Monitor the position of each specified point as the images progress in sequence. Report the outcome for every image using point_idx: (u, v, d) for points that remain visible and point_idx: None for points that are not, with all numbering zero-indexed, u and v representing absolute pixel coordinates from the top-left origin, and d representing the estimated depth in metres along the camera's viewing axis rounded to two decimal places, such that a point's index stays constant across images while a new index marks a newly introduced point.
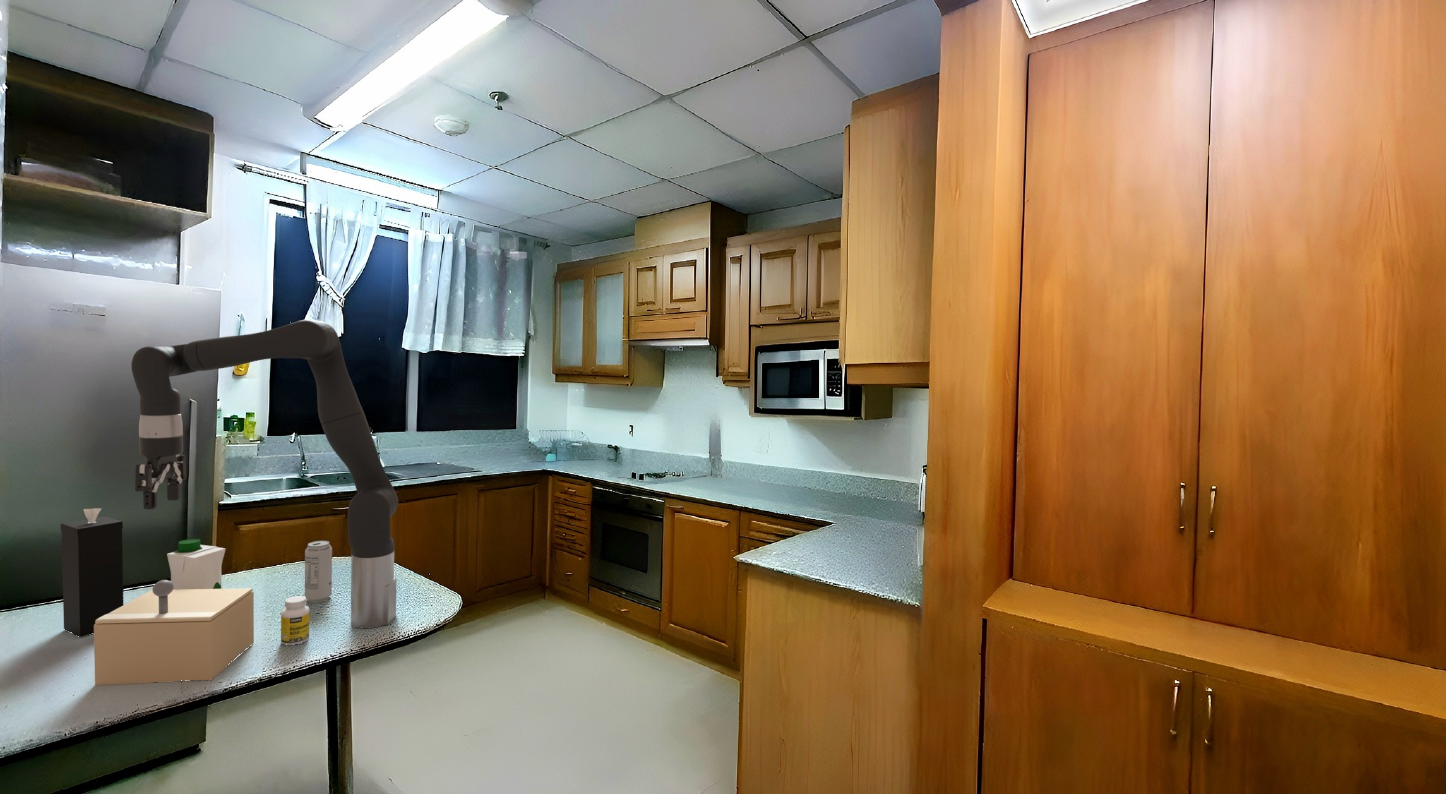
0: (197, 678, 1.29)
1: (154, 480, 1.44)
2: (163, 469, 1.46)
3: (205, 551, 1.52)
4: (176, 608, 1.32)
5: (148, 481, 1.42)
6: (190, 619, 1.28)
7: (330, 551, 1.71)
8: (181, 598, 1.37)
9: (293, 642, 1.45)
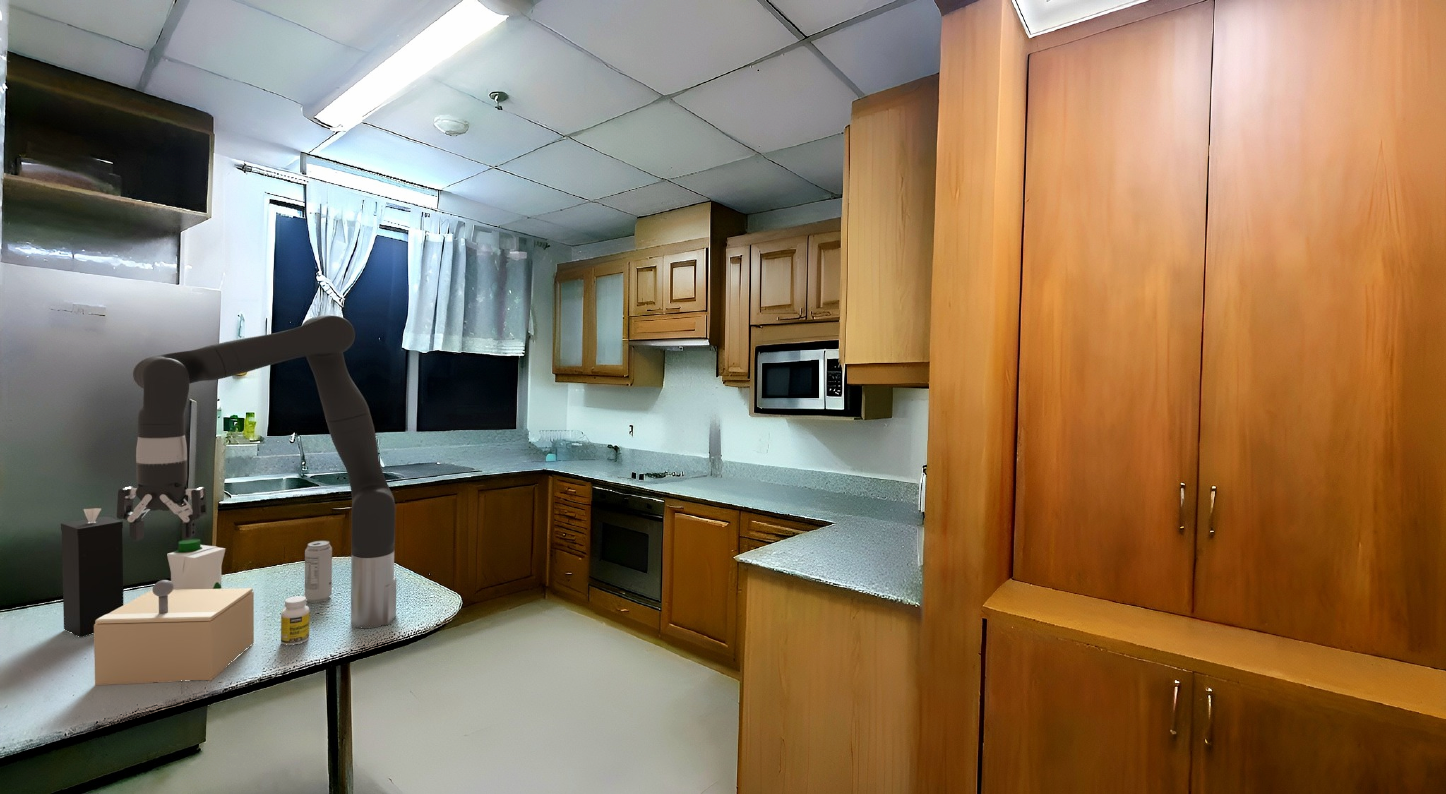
0: (197, 678, 1.29)
1: (187, 507, 1.30)
2: None
3: (205, 551, 1.52)
4: (176, 608, 1.32)
5: None
6: (190, 619, 1.28)
7: (330, 551, 1.71)
8: (181, 598, 1.37)
9: (293, 642, 1.45)
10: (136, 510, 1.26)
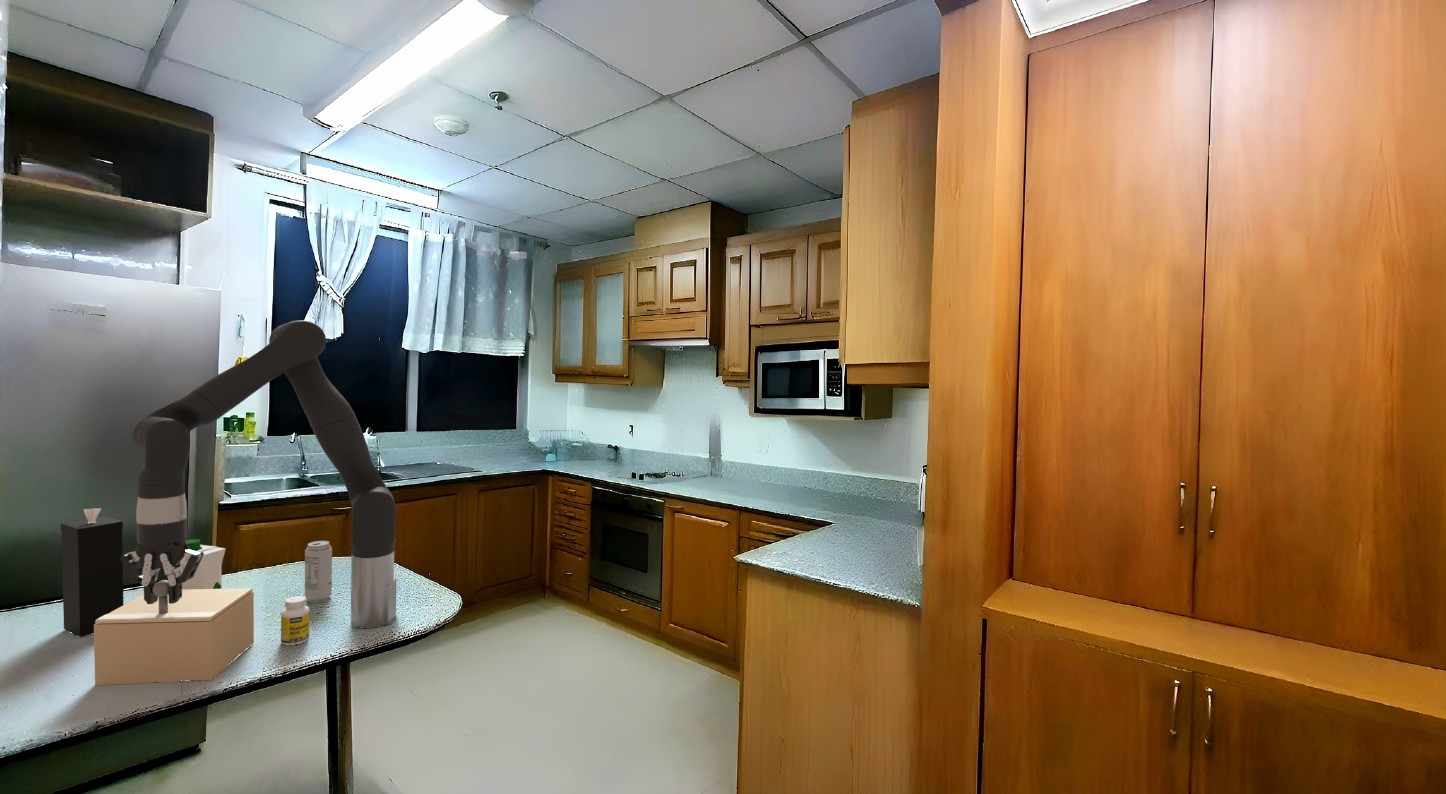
0: (197, 678, 1.29)
1: (179, 569, 1.30)
2: None
3: (205, 551, 1.52)
4: (176, 608, 1.32)
5: None
6: (190, 619, 1.28)
7: (330, 551, 1.71)
8: (181, 598, 1.37)
9: (293, 642, 1.45)
10: (145, 573, 1.27)
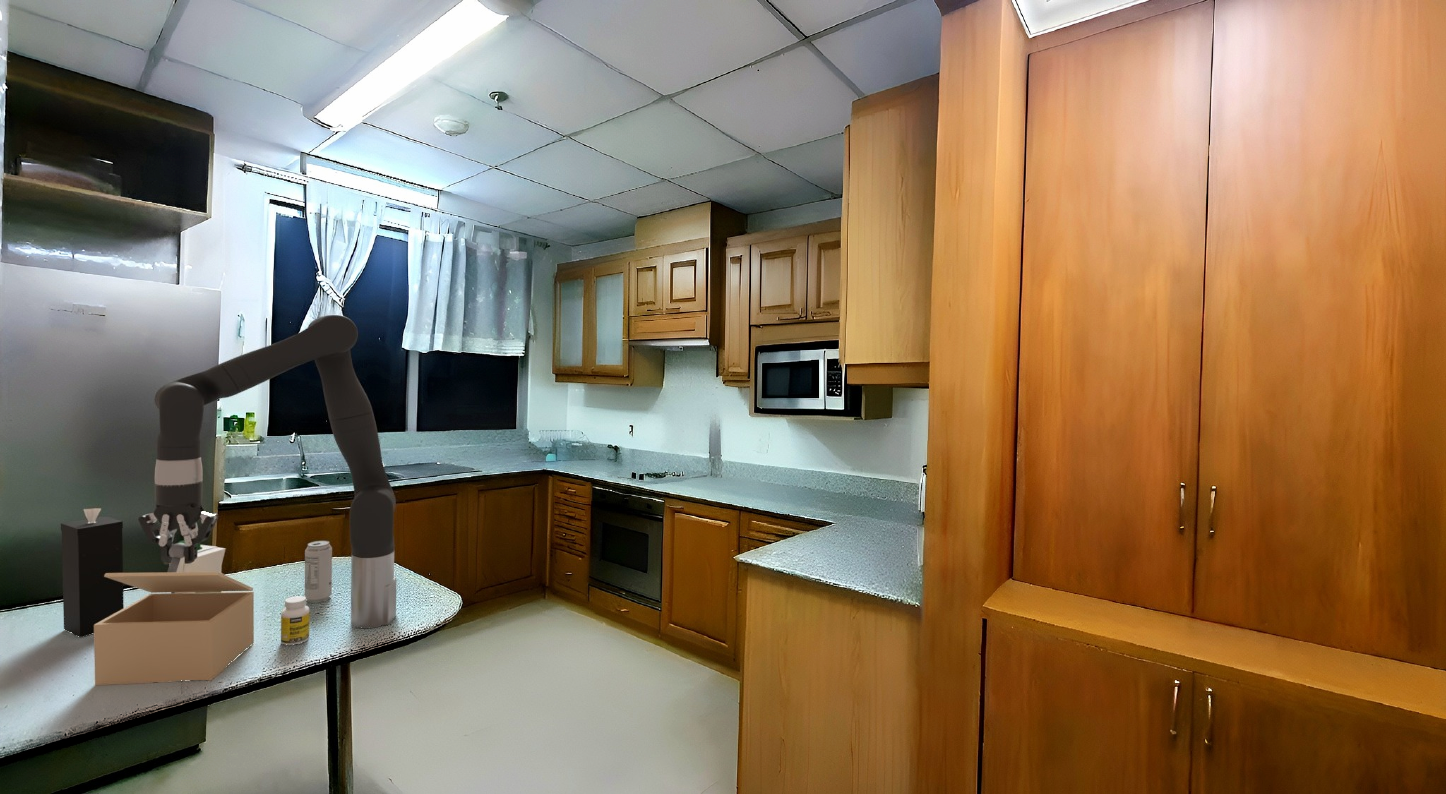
0: (197, 678, 1.29)
1: (195, 530, 1.35)
2: None
3: (205, 551, 1.52)
4: None
5: None
6: (198, 573, 1.30)
7: (330, 551, 1.71)
8: None
9: (293, 642, 1.45)
10: (162, 533, 1.32)
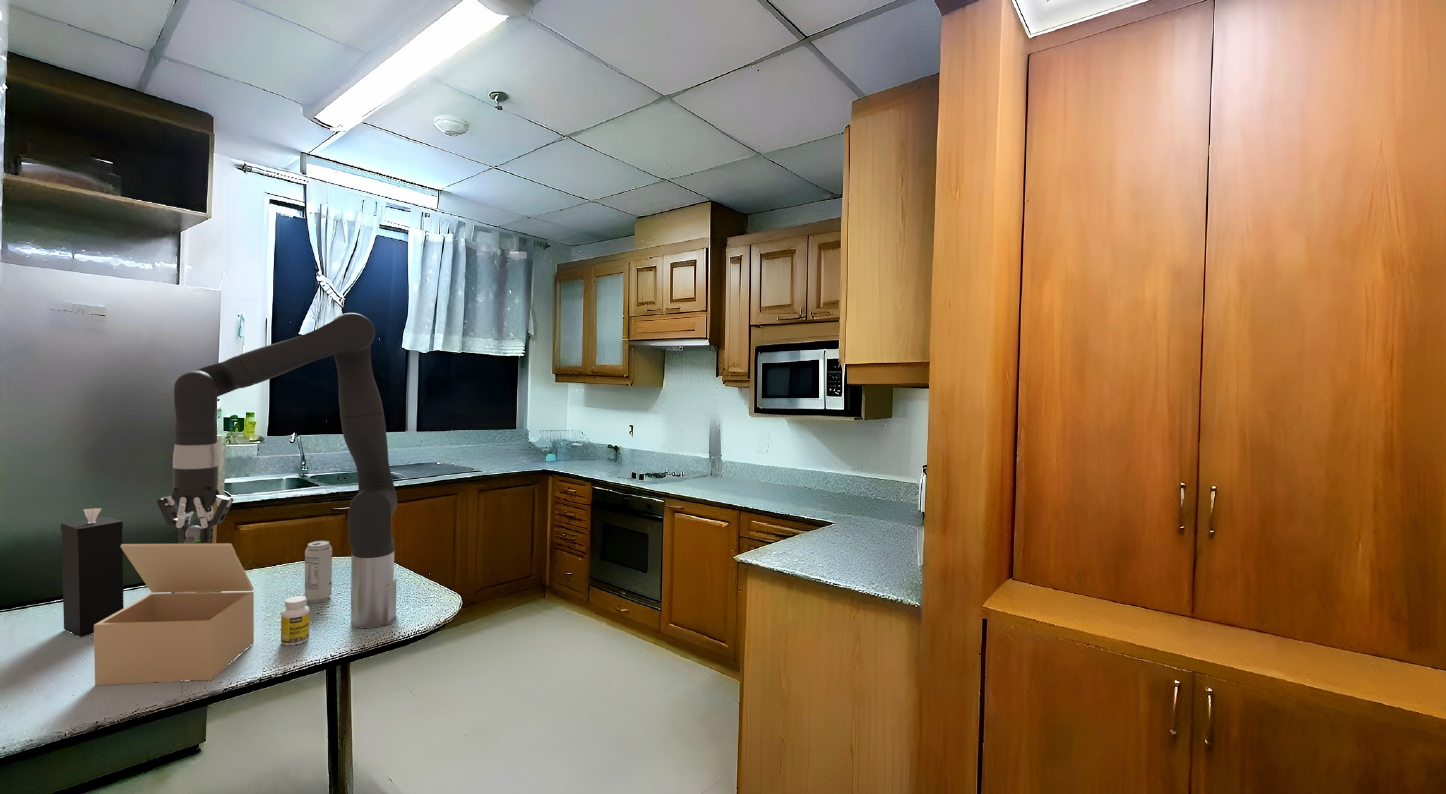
0: (197, 678, 1.29)
1: (211, 513, 1.40)
2: None
3: None
4: None
5: None
6: (211, 544, 1.34)
7: (330, 551, 1.71)
8: None
9: (293, 642, 1.45)
10: (179, 515, 1.37)
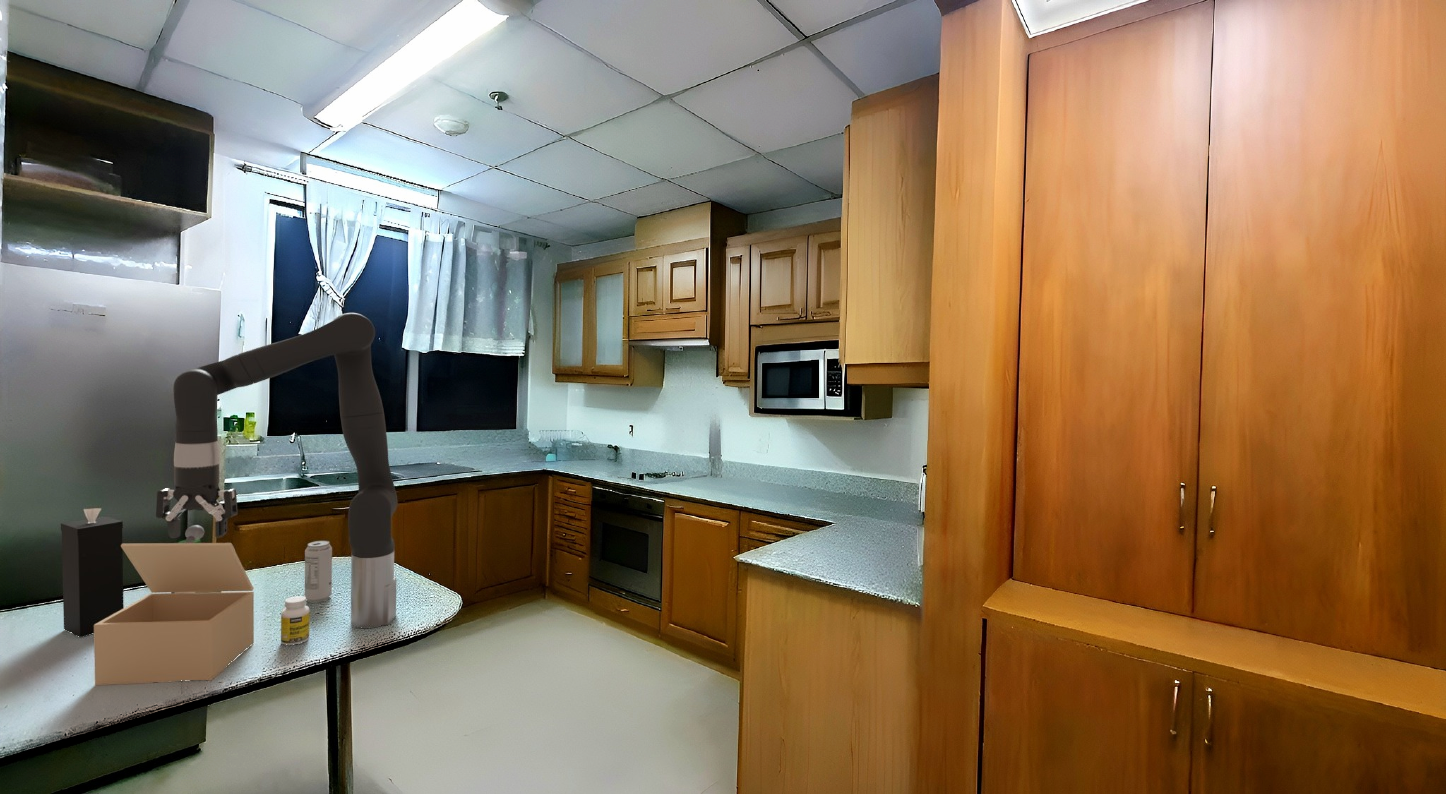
0: (197, 678, 1.29)
1: (220, 507, 1.41)
2: None
3: None
4: None
5: None
6: (211, 543, 1.34)
7: (330, 551, 1.71)
8: None
9: (293, 642, 1.45)
10: (174, 510, 1.37)
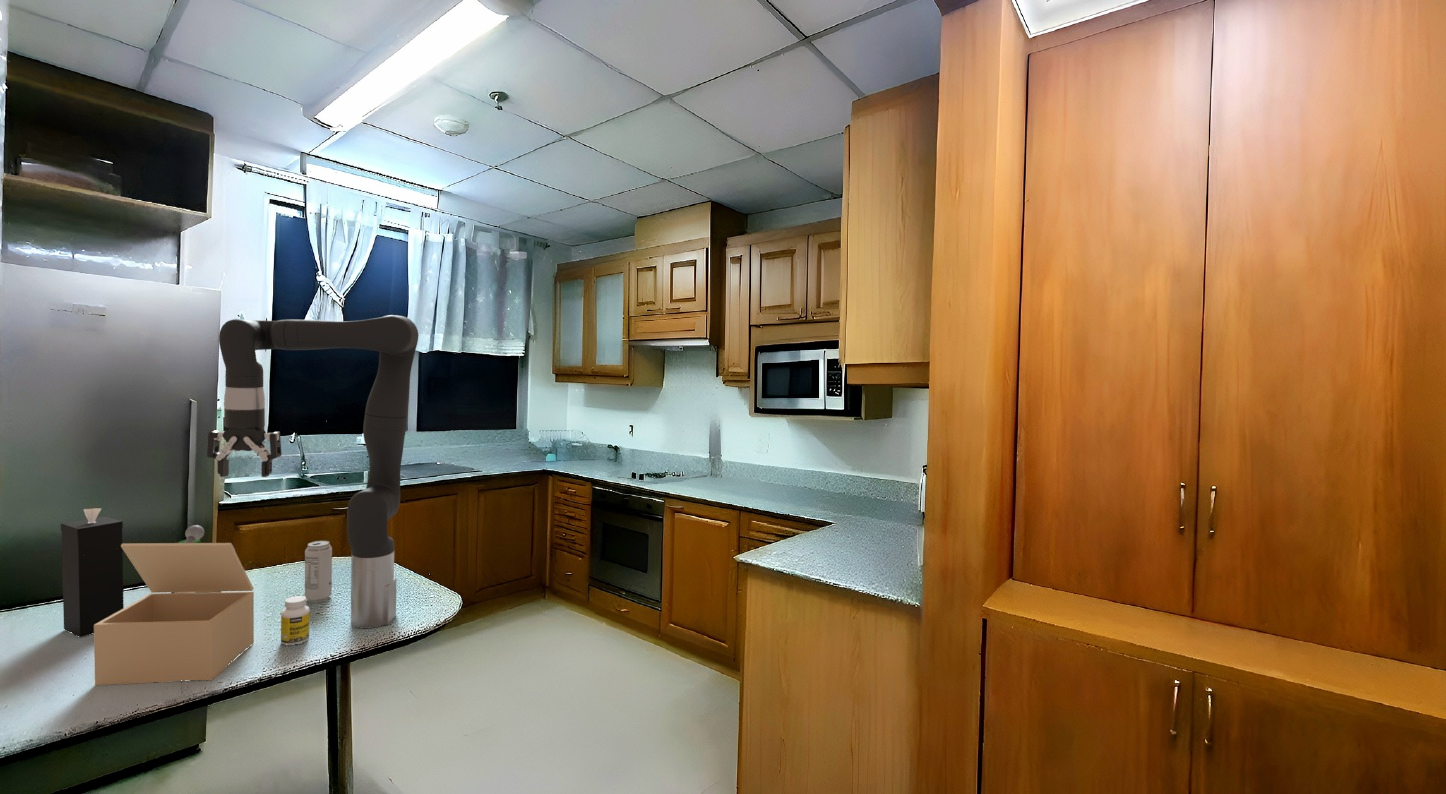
0: (197, 678, 1.29)
1: (265, 449, 1.51)
2: None
3: None
4: None
5: None
6: (211, 543, 1.34)
7: (330, 551, 1.71)
8: None
9: (293, 642, 1.45)
10: (223, 450, 1.48)
